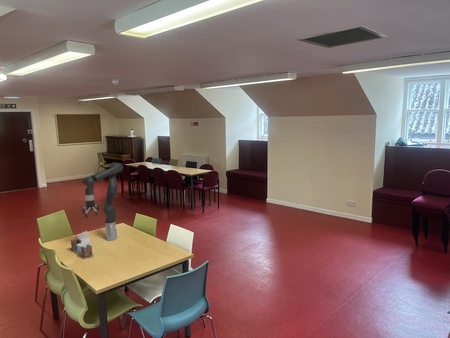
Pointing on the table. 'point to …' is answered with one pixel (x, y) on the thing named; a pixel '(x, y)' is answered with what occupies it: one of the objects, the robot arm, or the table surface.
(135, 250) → the table surface
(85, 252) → the brown wooden block
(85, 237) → the decorative molding
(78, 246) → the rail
